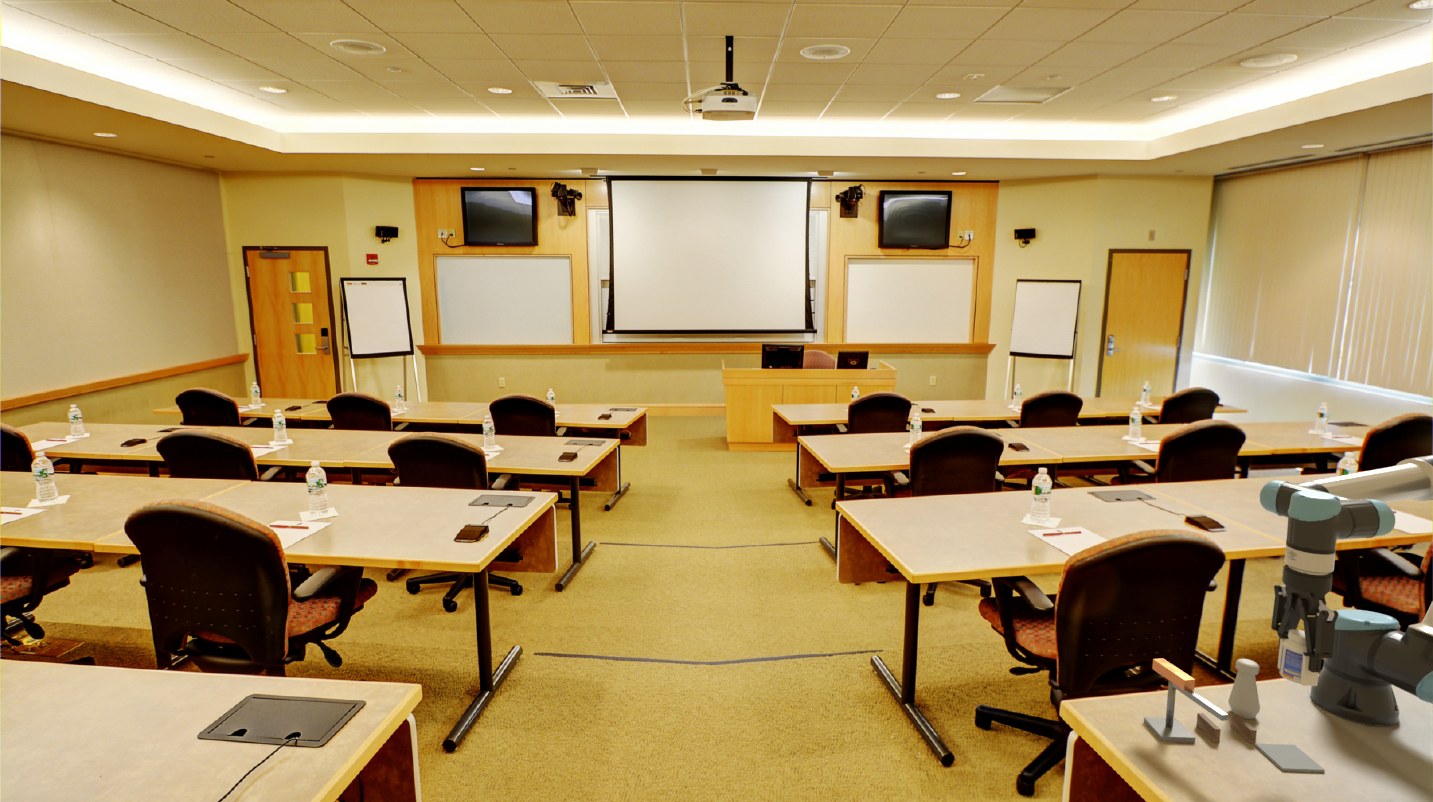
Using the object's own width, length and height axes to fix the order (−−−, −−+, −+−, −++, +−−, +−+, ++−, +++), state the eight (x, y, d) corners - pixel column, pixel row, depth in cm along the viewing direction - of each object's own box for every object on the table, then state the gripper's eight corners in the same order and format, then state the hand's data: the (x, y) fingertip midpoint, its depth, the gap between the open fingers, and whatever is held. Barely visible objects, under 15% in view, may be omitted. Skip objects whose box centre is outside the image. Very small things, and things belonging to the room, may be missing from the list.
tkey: (1226, 765, 137) (1231, 703, 136) (1215, 766, 137) (1220, 704, 135) (1158, 713, 155) (1162, 658, 153) (1149, 714, 155) (1153, 658, 153)
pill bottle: (1319, 686, 136) (1326, 641, 134) (1288, 683, 137) (1295, 638, 135) (1302, 672, 141) (1308, 628, 140) (1272, 669, 142) (1278, 626, 141)
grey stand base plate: (1175, 723, 154) (1176, 718, 154) (1194, 742, 147) (1195, 737, 147) (1143, 722, 154) (1144, 717, 154) (1161, 741, 148) (1161, 736, 147)
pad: (1294, 747, 145) (1294, 744, 145) (1324, 772, 137) (1324, 769, 137) (1254, 745, 146) (1255, 743, 145) (1282, 770, 138) (1283, 768, 138)
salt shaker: (1257, 711, 158) (1262, 659, 156) (1260, 724, 153) (1266, 670, 151) (1226, 703, 161) (1231, 652, 159) (1228, 716, 156) (1233, 663, 154)
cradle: (1236, 726, 152) (1237, 713, 152) (1255, 743, 146) (1256, 730, 146) (1196, 724, 153) (1197, 712, 153) (1213, 741, 147) (1214, 728, 147)
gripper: (1255, 551, 145) (1246, 653, 148) (1325, 586, 127) (1313, 701, 130) (1292, 552, 145) (1282, 654, 148) (1368, 587, 126) (1354, 702, 129)
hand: (1296, 676), depth 139 cm, fingers closed on pill bottle, 5 cm apart
